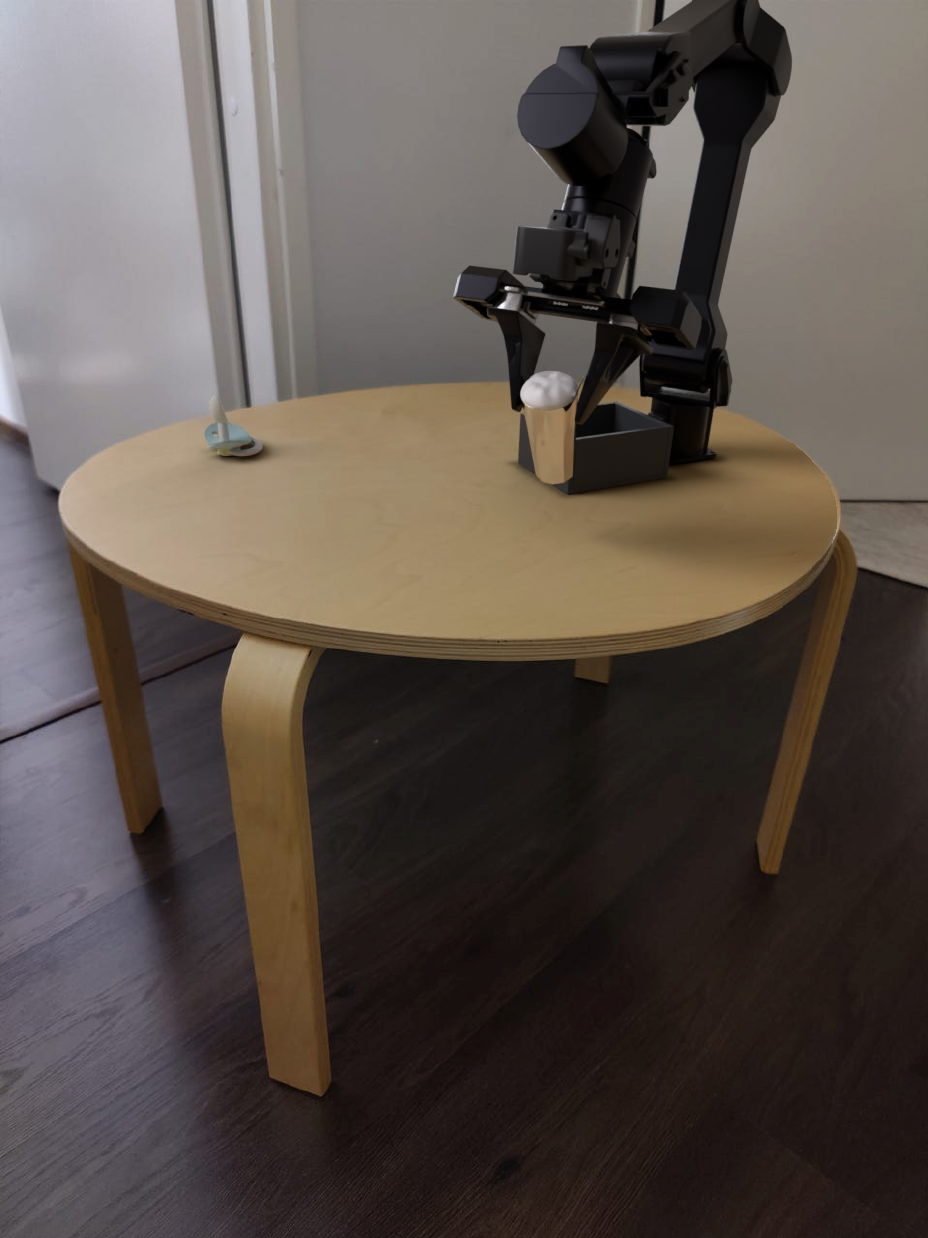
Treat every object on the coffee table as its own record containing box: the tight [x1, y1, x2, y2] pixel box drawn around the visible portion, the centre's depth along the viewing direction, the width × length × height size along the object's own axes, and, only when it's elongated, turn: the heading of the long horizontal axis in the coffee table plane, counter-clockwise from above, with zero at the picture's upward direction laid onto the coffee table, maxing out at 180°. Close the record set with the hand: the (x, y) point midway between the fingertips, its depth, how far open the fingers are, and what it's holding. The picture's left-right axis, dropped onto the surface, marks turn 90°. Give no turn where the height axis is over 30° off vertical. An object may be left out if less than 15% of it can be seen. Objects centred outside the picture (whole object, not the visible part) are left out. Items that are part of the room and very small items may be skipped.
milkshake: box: [520, 370, 586, 485], centre depth 69 cm, size 4×5×10 cm
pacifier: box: [203, 394, 263, 457], centre depth 94 cm, size 7×6×6 cm
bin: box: [517, 401, 674, 495], centre depth 90 cm, size 12×10×6 cm
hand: (546, 416), depth 68 cm, fingers closed on milkshake, 5 cm apart
